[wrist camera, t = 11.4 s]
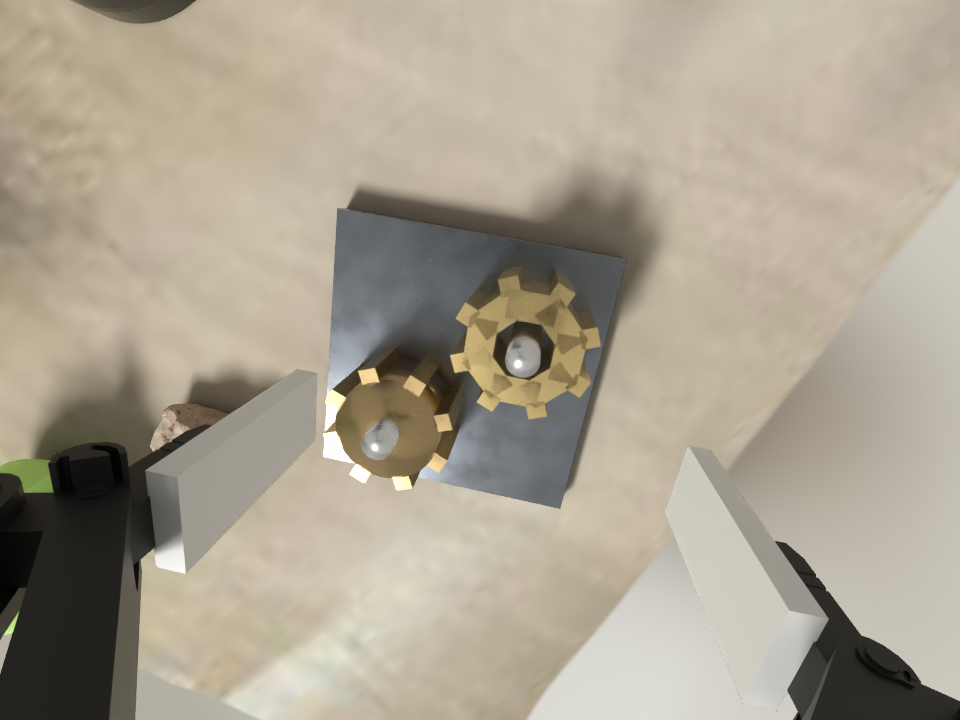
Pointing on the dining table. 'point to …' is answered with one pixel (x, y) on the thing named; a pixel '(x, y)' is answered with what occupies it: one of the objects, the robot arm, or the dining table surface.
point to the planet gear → (557, 361)
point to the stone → (183, 421)
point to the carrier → (448, 358)
